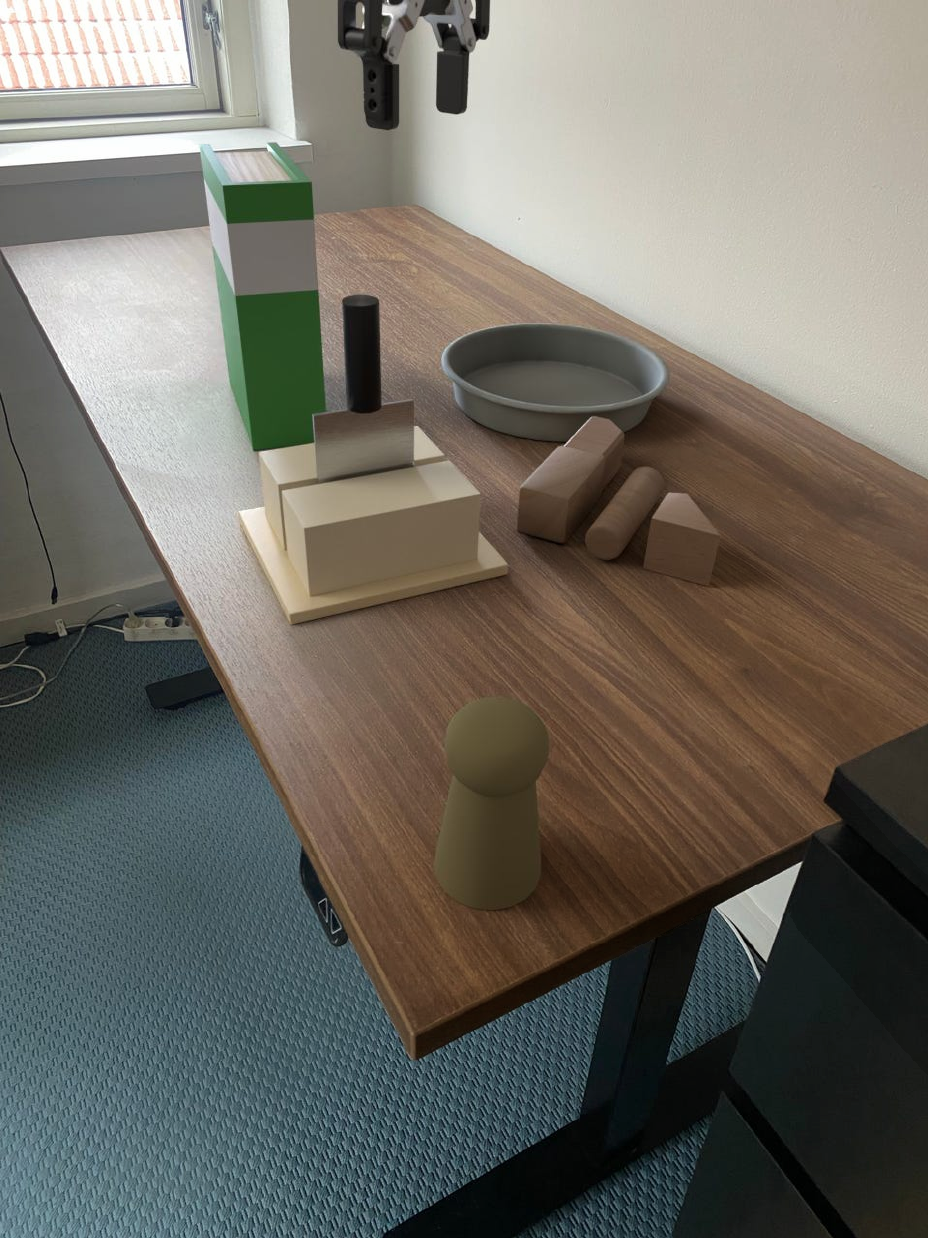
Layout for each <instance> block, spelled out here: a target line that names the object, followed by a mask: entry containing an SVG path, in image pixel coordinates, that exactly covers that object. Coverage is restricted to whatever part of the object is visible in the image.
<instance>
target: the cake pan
mask: <svg viewBox="0 0 928 1238" xmlns="http://www.w3.org/2000/svg"><path fill="white" fill-rule="evenodd" d="M440 362H441V367H442V369H443V371H444V373H445V375H446V376H447V377H448V379H450V381H451V382H452V386H453V392H454V398H455V402H456V404H457V406H458V407H459V408H460V410H461V411H462V412H463V413H464V414H465V415H466V416H468V417H469V419H472V420H473V421H475V422H476V423H478V424H480V425H482V426H484V427H486V428H489V429H491V430H494V431H496V432H500V433H501V434H502V433H503V434H506V435H509V436H514V437H516V438H517V437H518V438H521V439H522V438H523V439H528V440H534V441H535V440H536V441H543V442H556V443H557V442H559V443H562V442H563V443H564V442H565V443H567V442H568V441H569V440H570V439H571V438H572V437H573V436H574V434H575V433H576V432H577V431H578V430H579V429H580V428H581V427H582V426H583V425H584V424H585V423H586V422H587V421H588V420H589V419H590V418H591V417H592V416H596V417H601V418H605V419H610V420H611V421H612V422H613V423H614V424H615V425H616V426H617V427H618V428H619V429H620V430H621V431H622V432H623V433H625V432H628V431H631V430H632V429H633V428H635V427H636V426H638V425H639V424H640V423H641V422H642V421H643V419H645V417H646V415H647V413H648V411H649V409H650V406H651V404H652V402H653V400H654V399H655V398H656V397H658V396H659V395H660V394H661V393H662V392H663V391H665V389H666V388H667V386H668V385H669V382H670V380H671V373H670V369H669V367H668V365H667V363H666V362H665V361H664V360H663V358H662V357H660V356H659V355H658V354H657V353H656V352H654V351H653V350H651V349H650V348H649V347H647V346H645V345H643V344H642V343H639V342H638V341H636V340H635V341H634V340H632V339H630V338H627V337H625V336H622V335H619V334H616V333H612V332H609V331H605V330H601V329H597V328H591V327H586V326H580V325H573V324H572V325H571V324H562V323H549V322H548V323H546V322H527V323H525V322H524V323H511V324H501V325H495V326H490V327H485V328H481V329H478V330H474V331H471V332H469V333H466V334H464V335H462V336H460V337H458V338H456V339H454V340H453V341H452V342H451V343H450V344H449V345H447V347H446V348H445V349H444V351H443V352H442V355H441V361H440Z"/></svg>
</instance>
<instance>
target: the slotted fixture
mask: <svg viewBox="0 0 928 1238" xmlns="http://www.w3.org/2000/svg"><path fill="white" fill-rule="evenodd" d="M445 457H446V455H445V454H444V452H442V450H441V449H440V448H439V447H438V446H437V445H436V444H435V443H434V442H433V440H432V439H430V437H428V435H427V434H426V433H425V432H424V431H423V430H422V429H421V428H420V427H419V426H418V425H416V426H415V425H414V467H411V468H406V469H400V470H394V471H389V472H383V473H378V474H372V475H367V476H361V477H356V478H350V479H344V480H339V481H333V482H328V483H322V484H317V472H316V457H315V443H311V444H304V445H296V446H288V447H279V448H273V449H267V450H261V451H258V460H259V469H260V478H261V489H262V496H263V505H264V506H259V507H254V508H249V509H244V510H239V511H237V517H238V522H239V524H240V526H241V528H242V530H243V532H244V534H245V536H246V538H247V540H248V542H249V544H250V546H251V548H252V550H253V552H254V554H255V556H256V558H257V560H258V562H259V564H260V567H261V568H262V570H263V572H264V574H265V576H266V578H267V580H268V582H269V584H270V586H271V589H272V590H273V592H274V594H275V596H276V598H277V600H278V602H279V604H280V606H281V608H282V610H283V612H284V614H285V616H286V618H287V620H288V622H289V624H290V625H296V624H300V623H304V622H309V621H314V620H317V619H321V618H325V617H331V616H334V615H339V614H344V613H347V612H352V611H356V610H361V609H365V608H369V607H373V606H377V605H382V604H386V603H391V602H393V601H398V600H403V599H408V598H412V597H416V596H421V595H424V594H429V593H433V592H437V591H441V590H442V591H443V590H446V589H449V588H455V587H459V586H463V585H468V584H472V583H476V582H480V581H485V580H489V579H493V578H497V577H502V576H506V575H508V573H509V563H508V562H507V561H506V560H505V559H504V558H503V557H502V555H501V554H500V553H499V552H498V551H497V550H496V549H495V548H494V546H493V545H492V544H491V543H490V542H489V541H488V539H487V538H486V537H485V536H484V535H483V533H482V532H481V531H480V515H481V500H482V499H481V496H482V493H481V492H480V491H479V490H478V489H477V488H476V487H475V486H474V485H473V484H472V482H471V481H470V480H469V479H468V478H467V477H466V476H465V475H464V474H463V472H462V471H460V470H459V468H457V466H456V465H455V464H454V463H453V462H452V461H451V460H445V459H446V458H445Z"/></svg>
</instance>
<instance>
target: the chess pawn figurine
mask: <svg viewBox="0 0 928 1238" xmlns="http://www.w3.org/2000/svg"><path fill="white" fill-rule="evenodd" d="M549 754H550V738H549V733H548V730H547V728H546V725H545V723H544V721H543V720H542V718H541V717H540V716H539V715H538V714H537V713H536V712H535V711H534V710H533V708H532V707H530V706H529V705H526V703H523V702H522V701H520V700H516V699H513V698H510V697H503V696H488V697H480V698H477V699H475V700H472V701H470V702H468V703H466V704H465V705H464V706H462V707H461V708H460V709H459V710H458V711H457V712H456V713H455V714H454V715H453V717H452V718H451V720H450V721H449V723H448V725H447V728H446V731H445V738H444V755H445V759H446V761H447V765H448V767H449V771H450V772H451V773H452V777H451V781H450V785H449V790H448V794H447V799H446V803H445V807H444V812H443V817H442V820H441V824H440V825H441V826H440V830H439V834H438V839H437V843H436V848H435V852H434V860H433V866H432V867H433V871H434V875H435V878H436V881H437V883H438V884H439V886H440V887H441V888H442V890H443V891H444V893H445V894H446V895H448V896H449V897H450V898H452V899H453V900H454V901H456V902H457V903H459V904H461V905H463V906H465V907H466V906H467V907H468V908H472V909H473V910H474V909H475V910H483V911H498V910H505V909H509V908H512V907H514V906H516V905H518V904H520V903H522V902H523V901H526V899H527V898H528V897H529V896H531V894H532V893H533V892H534V891H535V890H536V888H537V887H538V884H539V882H540V879H541V877H542V852H541V837H540V822H539V810H538V809H539V807H538V795H537V793H538V792H537V781H538V780H539V779H540V777H541V774H542V772H543V771H544V768H545V767H546V765H547V763H548V760H549Z"/></svg>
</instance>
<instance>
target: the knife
mask: <svg viewBox="0 0 928 1238" xmlns="http://www.w3.org/2000/svg"><path fill="white" fill-rule="evenodd" d="M341 307H342V310H341V311H342V330H343V347H344V349H343V351H344V353H343V354H344V373H345V374H344V375H345V376H344V377H345V397H346V398H345V399H346V408H342V409H337V410H329V411H326V412H322V413H316V414H313V428H314V443H315V457H316V472H317V484H322V483H328V482H333V481H339V480H344V479H350V478H356V477H361V476H367V475H372V474H378V473H383V472H389V471H394V470H400V469H406V468H411V467H414V427H415V400H414V398H408V399H402V400H401V399H400V400H396V401H388V402H383V403H382V367H381V366H382V364H381V315H380V312H381V311H380V299H379V298H378V297H376V296H374V295H370V294H361V293H360V294H359V293H358V294H351V295H347V296H345V297H343V298H342V300H341Z"/></svg>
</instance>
